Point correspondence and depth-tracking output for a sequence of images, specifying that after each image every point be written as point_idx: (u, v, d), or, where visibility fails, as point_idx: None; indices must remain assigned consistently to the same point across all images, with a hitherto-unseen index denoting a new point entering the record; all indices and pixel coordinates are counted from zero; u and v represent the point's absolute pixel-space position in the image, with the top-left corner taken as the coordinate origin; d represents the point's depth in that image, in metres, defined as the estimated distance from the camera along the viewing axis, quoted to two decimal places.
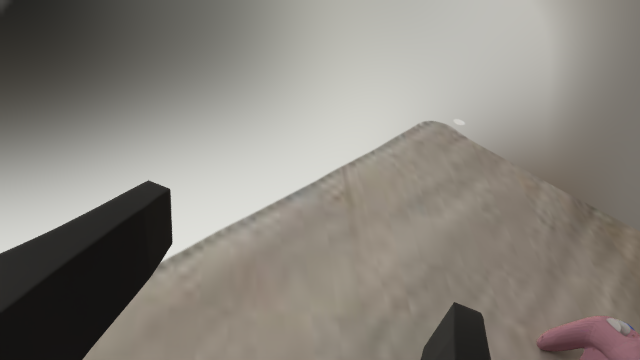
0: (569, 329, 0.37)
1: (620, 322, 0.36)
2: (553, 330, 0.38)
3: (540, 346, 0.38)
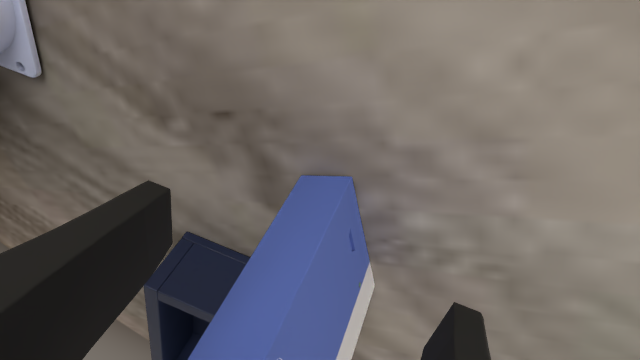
0: None
1: None
2: None
3: None
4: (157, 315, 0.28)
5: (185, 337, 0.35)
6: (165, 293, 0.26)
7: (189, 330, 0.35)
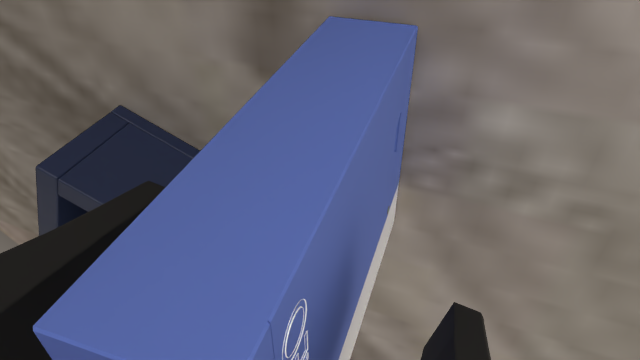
0: None
1: None
2: None
3: None
4: (54, 220, 0.18)
5: None
6: (71, 184, 0.16)
7: None
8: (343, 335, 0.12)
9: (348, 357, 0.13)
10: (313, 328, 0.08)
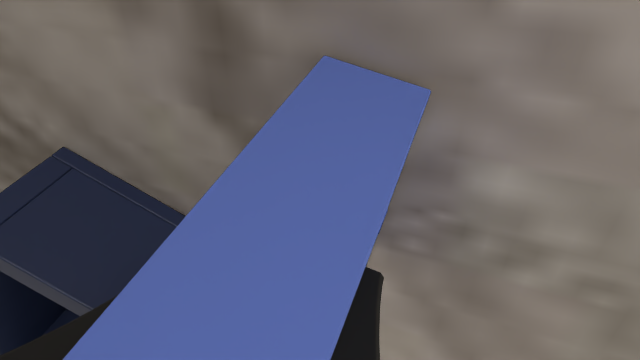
0: None
1: None
2: None
3: None
4: None
5: (52, 314, 0.22)
6: None
7: (60, 304, 0.23)
8: None
9: None
10: None
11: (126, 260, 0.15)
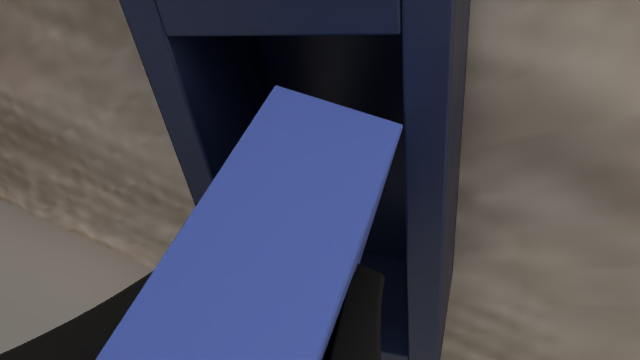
0: None
1: None
2: None
3: None
4: (185, 107, 0.11)
5: None
6: None
7: None
8: None
9: None
10: None
11: None
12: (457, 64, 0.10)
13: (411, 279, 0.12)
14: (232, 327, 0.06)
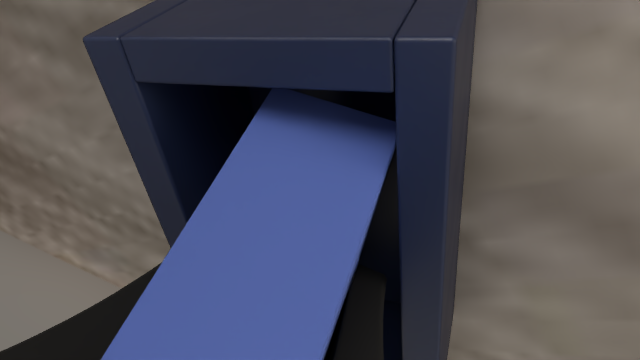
0: None
1: None
2: None
3: None
4: (158, 156, 0.10)
5: None
6: (142, 35, 0.08)
7: None
8: None
9: None
10: None
11: (345, 0, 0.09)
12: (458, 119, 0.08)
13: (406, 343, 0.11)
14: (235, 329, 0.06)
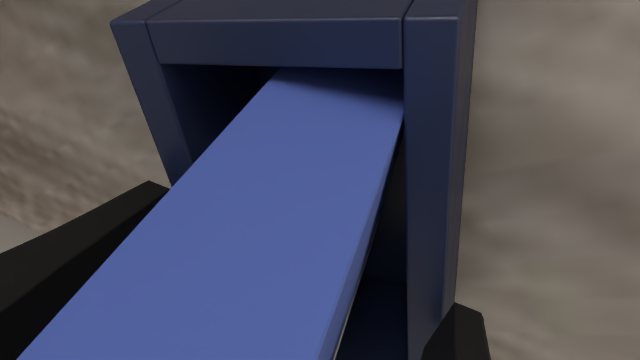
0: None
1: None
2: None
3: None
4: (178, 135, 0.10)
5: None
6: (166, 19, 0.09)
7: None
8: None
9: None
10: None
11: None
12: (461, 97, 0.09)
13: (411, 314, 0.12)
14: (320, 130, 0.08)
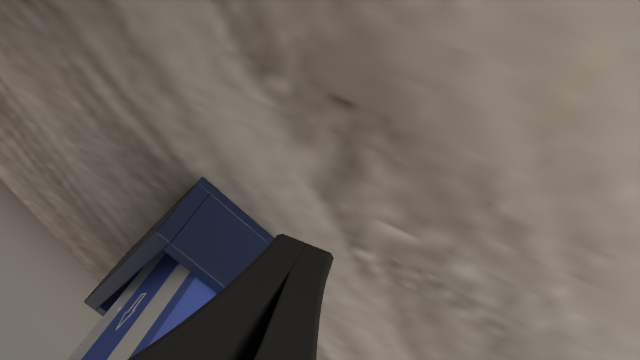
0: None
1: None
2: None
3: None
4: (147, 260, 0.24)
5: None
6: (178, 248, 0.23)
7: None
8: None
9: None
10: None
11: (243, 262, 0.25)
12: None
13: None
14: None
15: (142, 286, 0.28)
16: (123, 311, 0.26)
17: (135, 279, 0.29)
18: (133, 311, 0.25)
